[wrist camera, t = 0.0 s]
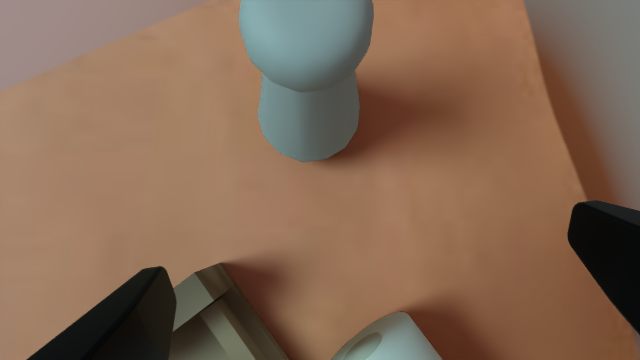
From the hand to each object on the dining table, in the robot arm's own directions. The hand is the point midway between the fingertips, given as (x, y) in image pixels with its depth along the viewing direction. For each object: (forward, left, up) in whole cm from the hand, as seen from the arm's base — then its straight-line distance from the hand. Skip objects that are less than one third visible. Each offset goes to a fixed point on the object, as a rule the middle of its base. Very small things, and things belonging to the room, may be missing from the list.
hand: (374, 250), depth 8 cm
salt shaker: (+7, -3, -15) cm, 17 cm away
